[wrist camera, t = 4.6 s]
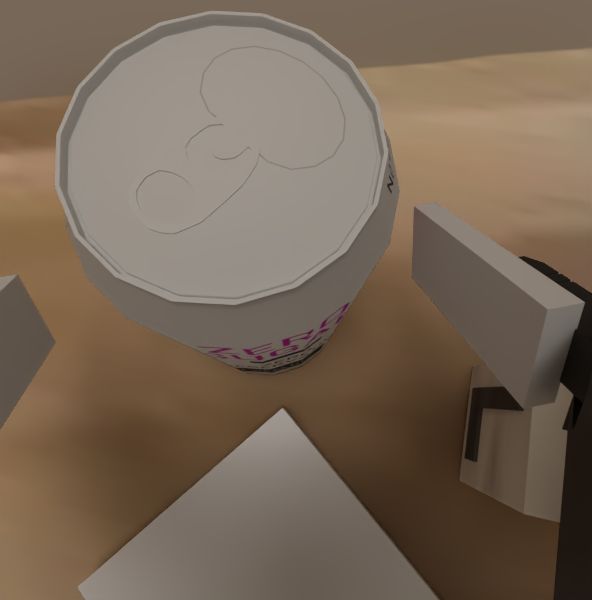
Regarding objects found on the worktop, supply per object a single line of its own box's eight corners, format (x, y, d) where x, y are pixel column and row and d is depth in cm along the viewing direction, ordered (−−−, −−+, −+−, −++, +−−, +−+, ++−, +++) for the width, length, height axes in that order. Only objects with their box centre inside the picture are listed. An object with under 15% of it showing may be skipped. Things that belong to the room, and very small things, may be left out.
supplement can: (265, 211, 24) (223, -65, 10) (367, 301, 23) (496, 139, 8) (167, 305, 23) (-57, 148, 8) (270, 407, 22) (219, 433, 7)
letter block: (580, 391, 22) (685, 390, 16) (574, 508, 20) (687, 553, 15) (468, 366, 22) (531, 356, 16) (455, 479, 21) (518, 512, 15)
